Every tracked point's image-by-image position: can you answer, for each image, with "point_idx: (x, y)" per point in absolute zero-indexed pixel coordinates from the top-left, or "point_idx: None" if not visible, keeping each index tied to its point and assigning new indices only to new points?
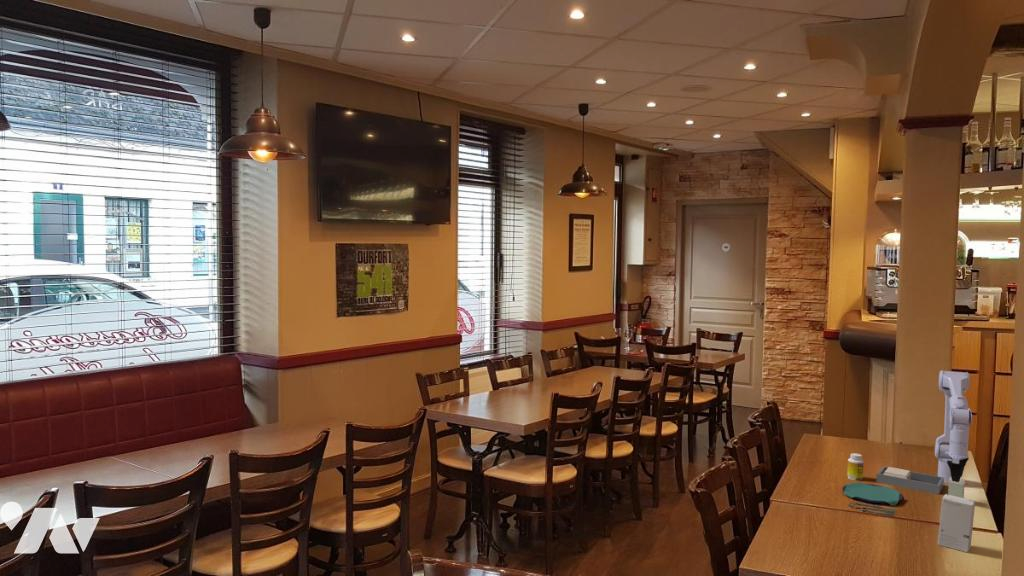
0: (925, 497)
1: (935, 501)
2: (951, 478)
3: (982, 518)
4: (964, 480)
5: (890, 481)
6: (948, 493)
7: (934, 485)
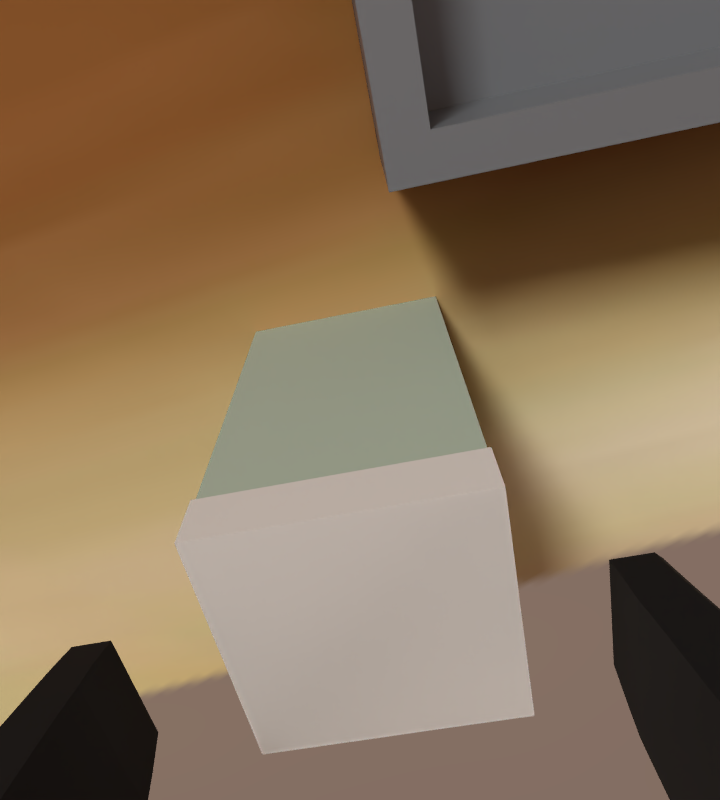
0: (125, 14)
1: (76, 217)
2: (354, 547)
3: (8, 714)
4: (464, 718)
5: None
6: (238, 388)
7: (371, 89)
